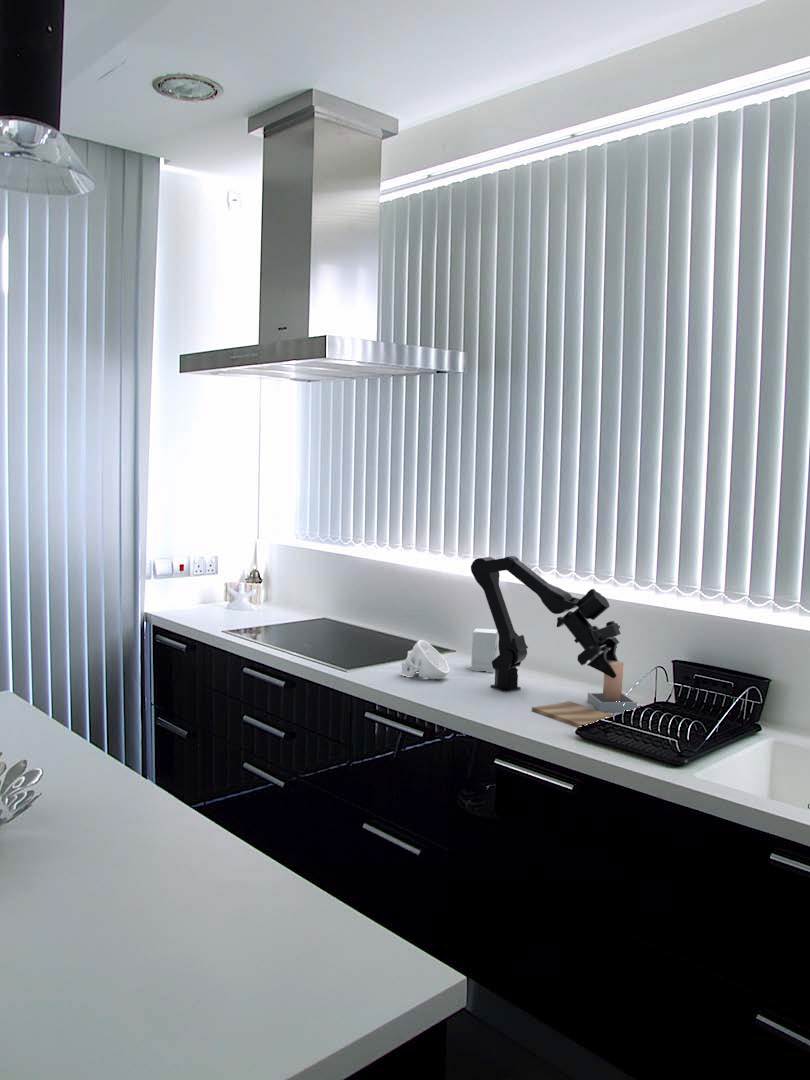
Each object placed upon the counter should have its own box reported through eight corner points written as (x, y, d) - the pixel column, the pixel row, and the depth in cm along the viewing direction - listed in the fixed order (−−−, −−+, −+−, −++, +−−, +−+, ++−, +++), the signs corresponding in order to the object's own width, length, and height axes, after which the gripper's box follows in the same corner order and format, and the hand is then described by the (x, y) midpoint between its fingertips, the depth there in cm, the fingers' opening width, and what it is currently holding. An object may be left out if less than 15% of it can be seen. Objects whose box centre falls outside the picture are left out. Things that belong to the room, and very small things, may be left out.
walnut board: (531, 710, 245) (531, 707, 245) (569, 704, 253) (569, 701, 253) (580, 728, 230) (581, 724, 230) (619, 721, 238) (619, 717, 238)
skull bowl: (402, 665, 287) (423, 635, 284) (436, 694, 283) (458, 664, 280) (388, 671, 278) (410, 640, 274) (423, 701, 273) (445, 670, 270)
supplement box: (494, 673, 288) (495, 633, 287) (470, 671, 289) (472, 631, 288) (496, 668, 295) (498, 629, 294) (473, 666, 297) (475, 627, 296)
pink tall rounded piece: (598, 697, 253) (600, 661, 252) (611, 695, 256) (613, 659, 255) (612, 701, 249) (614, 665, 248) (625, 699, 252) (627, 663, 251)
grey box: (599, 711, 247) (600, 702, 246) (587, 701, 257) (587, 693, 257) (636, 711, 248) (636, 702, 248) (622, 701, 258) (622, 693, 258)
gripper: (591, 616, 244) (629, 663, 240) (614, 608, 260) (650, 652, 255) (561, 641, 249) (598, 688, 244) (585, 632, 265) (620, 675, 260)
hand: (618, 675), depth 251 cm, fingers closed on pink tall rounded piece, 5 cm apart
